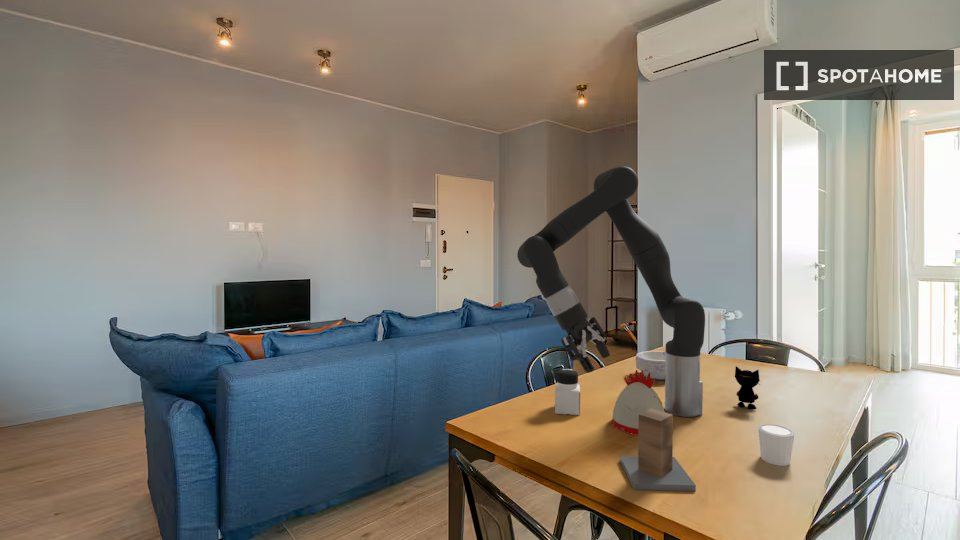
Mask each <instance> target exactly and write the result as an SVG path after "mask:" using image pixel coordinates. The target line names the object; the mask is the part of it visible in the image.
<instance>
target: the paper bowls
mask: <svg viewBox="0 0 960 540" xmlns="http://www.w3.org/2000/svg"><path fill="white" fill-rule="evenodd" d="M665 352H666V351H663V350H662V351H661V350H660V351H659V350H648V351H647V350H646V351H645V350H644V351H640V352H638V353H636V355H635V366H636V367H635V368H636V370H638V371H639V370H640V372H641V371H643V374H644V378H647V376H648V374H649V372H650V379H651V380H654V379H655V378H656V379H655V380H657V381H658V380H661V381H662V380H663V381H664V380H665Z"/></svg>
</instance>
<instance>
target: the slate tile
mask: <svg viewBox="0 0 960 540" xmlns="http://www.w3.org/2000/svg"><path fill="white" fill-rule="evenodd" d="M619 462H620V465H621V466H622V468H623V470H624V472H625V474H626V476H627V478H628V480H629V482H630V484H631V486H632V488H633V490H634V491H635V490H637V491H638V490H639V491H673V492H674V491H681V492H685V491H686V492H696V491H697V490H696V489H697V487H696V486H697V485H696V484H695V482H694V480H692V478H691V477H690V475H688V474H689V473H687V471H686V470H685V469H684V467H683V466H682V465H681V464H680V462H679V461H678V460H677V459H676V457H675V456H672V470H671V471H670V472H669V473H667V474H666V475H664V476H663V477H661V478H659V477H657V476H654V475H652V474H649V473H647V472H644V471H642V470H639V469H638V455H620V456H619Z"/></svg>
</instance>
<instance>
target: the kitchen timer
mask: <svg viewBox="0 0 960 540" xmlns="http://www.w3.org/2000/svg"><path fill="white" fill-rule="evenodd" d="M639 376H640V377H639ZM623 378H624V382H625V384H626V386H625V387H624V388H623V389H622V390H621V391H620V393H619V395H618V397H617V399H616V401H615V404H614V407H613V412H612V424H614V425H613V426H614V428H616V427H617V430H619V429H620V431H621V430H622V432H624V431H625V432H624V433H627V432H628V434H630V433H632V434H631V435H635V434H637V436H638V428H639V414H640V413H642V412H644V411H646V410H648V409H655V410H658V411H662V412H665V408H664V406H663V402H662V401H661V398H660V397H659V395H658V393H657V392H656V391H655V389H653V385H654V384H655V382H656V380H657V379H656V378H655V379H651V378H650V372H649V374H648V376H647V377H645V376H644V374H643V371H641V370H640V375H639V370H638V369H636V370H635V372H634V375H633V373H632V372H630V373H629V380H628V378H627V377H626V376H624V377H623Z"/></svg>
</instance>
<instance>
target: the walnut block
mask: <svg viewBox="0 0 960 540" xmlns="http://www.w3.org/2000/svg"><path fill="white" fill-rule="evenodd" d="M673 427H674V415H673V414H670V413H668V412H666V411H664V412H662V411H658V410H655V409H648V410H646V411H644V412H642V413H640V414H639V428H638V435H637V436H638V437H637V439H638V441H637V443H638V445H637V446H638V447H637V448H638V451H637V452H638V455H637V456H638V469H639V470H642V471H644V472H647V473H649V474H652V475H654V476H657V477H659V478H661V477H663V476H664V475H666V474H667V473H669V472H670V471H671V470H672V457H673V453H674V452H673V450H674V449H673V442H674V441H673V437H674V436H673V435H674V429H673Z"/></svg>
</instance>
